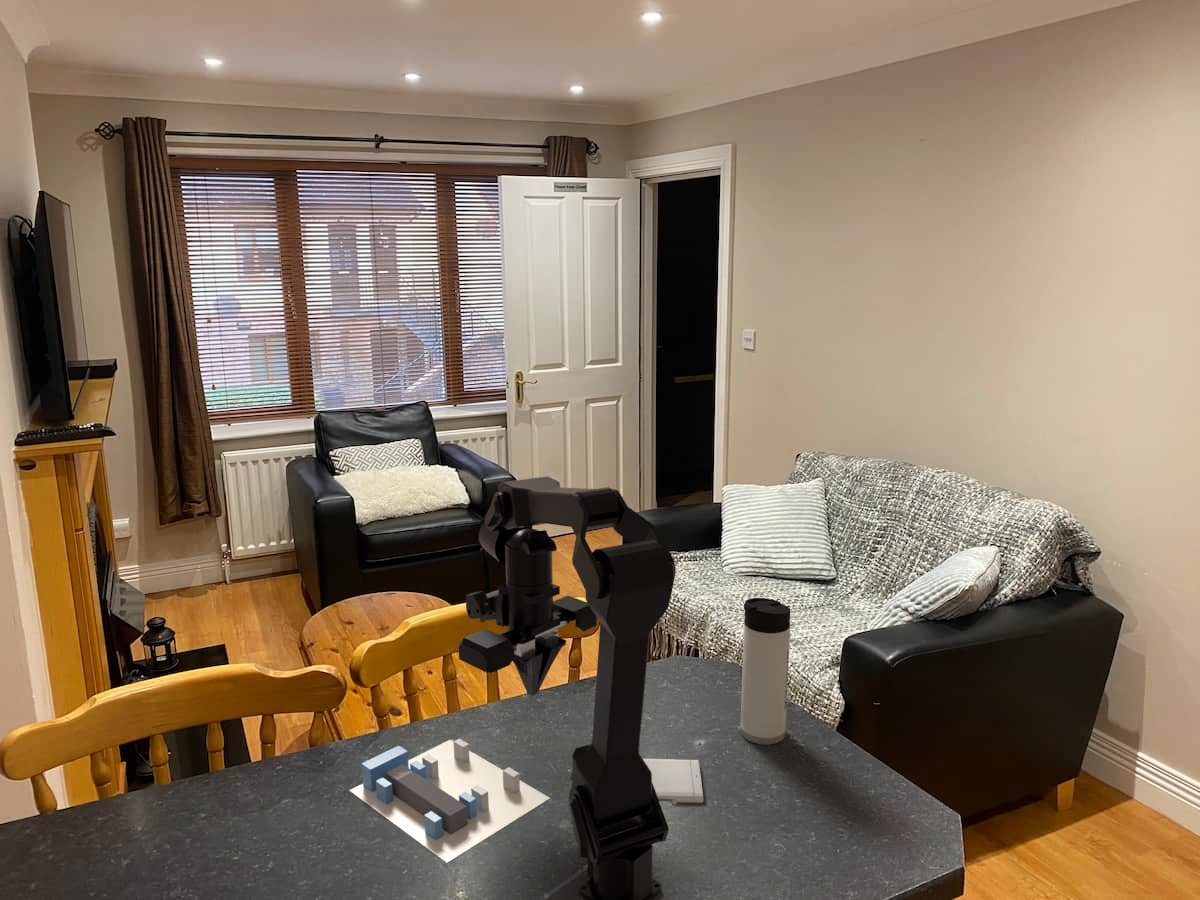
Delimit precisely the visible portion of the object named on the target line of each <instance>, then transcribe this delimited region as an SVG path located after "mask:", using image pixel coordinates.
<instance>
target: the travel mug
mask: <svg viewBox="0 0 1200 900" xmlns="http://www.w3.org/2000/svg"><path fill="white" fill-rule="evenodd" d="M743 610H744V620H743V640H742V641H743V645H742V647H743V648H742V672H741V674H742V675H741V676H742V677H741V700H740V701H741V702H740V703H741V704H740V705H741V706H740V734H741V735H742V737H743V739H744V738H745V740H747V741H749V742H752V743H754V744H757V745H763V746H764V745H765V746H766V745H767V746H769V745H770V746H771V745H775V744H777V743H780V742H782V741H783V740H784V739H785V737H786V729H787V728H786V725H787V708H788V707H787V706H788V705H787V700H788V686H789V685H788V684H789V683H788V682H789V681H788V680H789V663H790V662H789V661H790V660H789V659H790V641H791V638H790V637H791V636H790V635H791V608H790V607H789V606H787V605H785V604H783V603H781V601H778V600H776V599H771V598H765V597H751V598H748V599H746V600H745V603H744V604H743Z"/></svg>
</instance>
